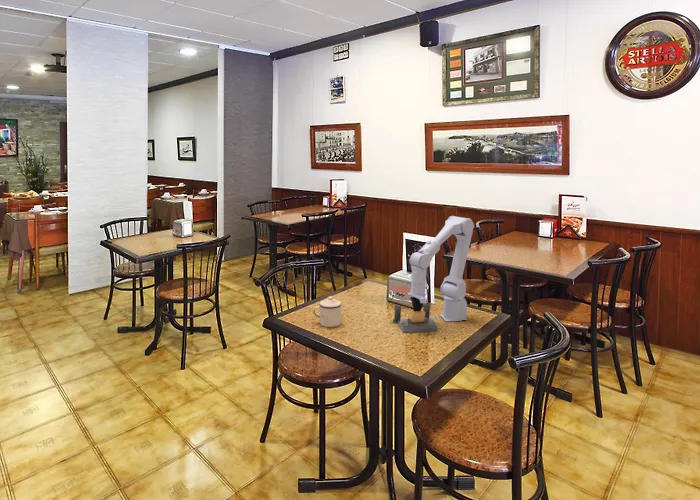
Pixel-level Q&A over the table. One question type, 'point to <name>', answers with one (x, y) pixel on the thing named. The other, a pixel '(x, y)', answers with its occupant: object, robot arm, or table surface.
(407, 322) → the panel
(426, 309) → the post
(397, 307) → the cord post
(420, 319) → the tan flat block
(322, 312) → the teacup with lid
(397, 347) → the table surface
